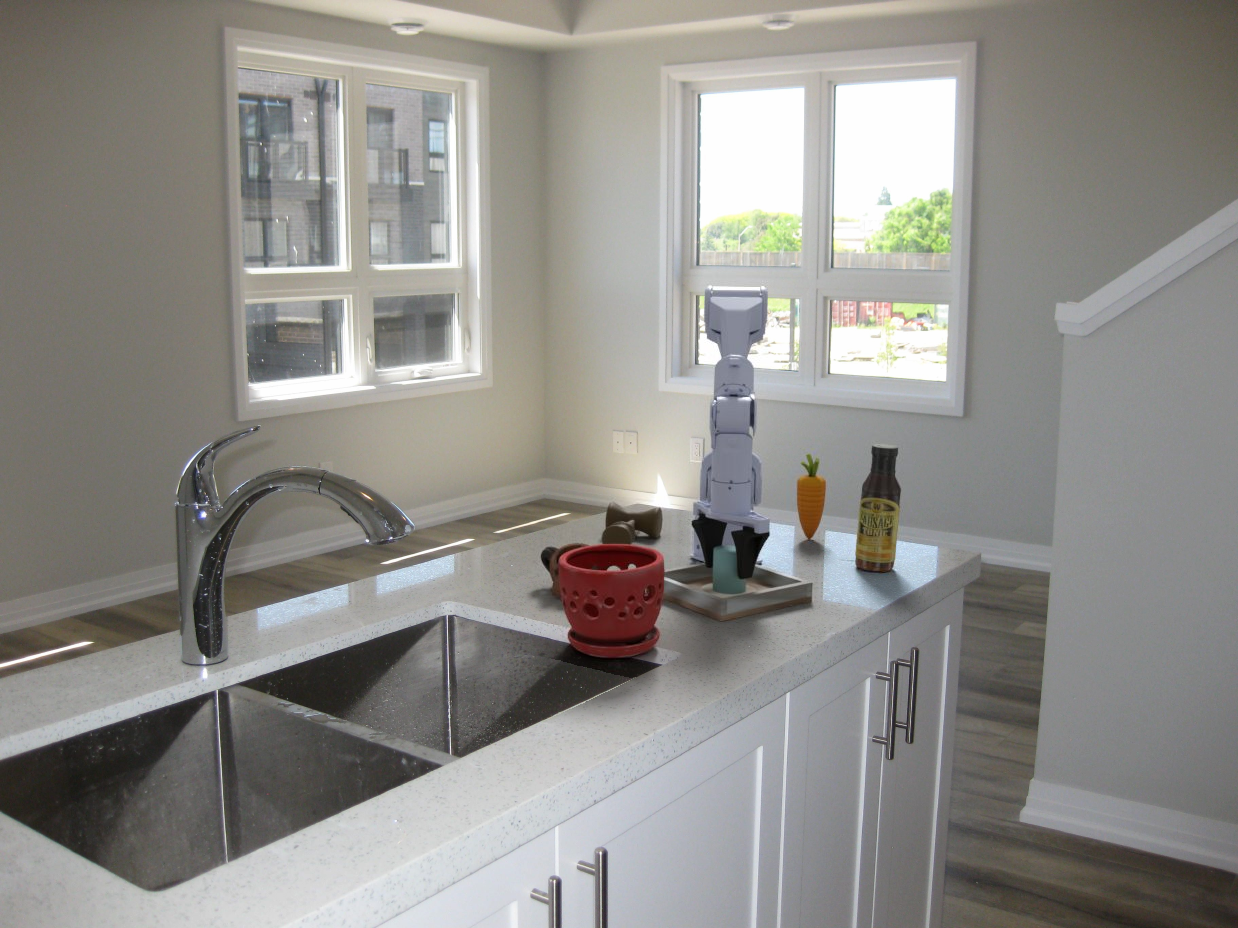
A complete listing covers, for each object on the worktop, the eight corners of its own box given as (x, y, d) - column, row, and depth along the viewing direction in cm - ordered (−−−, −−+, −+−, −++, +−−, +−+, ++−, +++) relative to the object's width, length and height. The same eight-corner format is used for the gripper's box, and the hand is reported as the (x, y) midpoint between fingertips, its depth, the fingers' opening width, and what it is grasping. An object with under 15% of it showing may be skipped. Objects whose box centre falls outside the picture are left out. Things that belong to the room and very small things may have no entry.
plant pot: (584, 626, 153) (584, 538, 151) (677, 639, 148) (679, 548, 146) (540, 656, 141) (540, 561, 139) (640, 671, 136) (641, 573, 134)
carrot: (823, 543, 199) (826, 458, 197) (794, 541, 200) (797, 456, 198) (823, 536, 204) (827, 453, 202) (795, 535, 205) (798, 452, 203)
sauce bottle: (851, 570, 182) (857, 446, 178) (858, 561, 187) (864, 441, 184) (893, 575, 179) (900, 449, 176) (899, 565, 185) (906, 443, 182)
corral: (646, 591, 169) (646, 573, 169) (733, 574, 179) (734, 557, 178) (721, 621, 155) (721, 601, 155) (811, 601, 165) (812, 582, 165)
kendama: (586, 555, 192) (616, 526, 211) (643, 561, 190) (667, 530, 209) (587, 520, 191) (617, 494, 210) (644, 526, 189) (668, 498, 208)
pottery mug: (623, 591, 171) (620, 551, 166) (584, 631, 166) (579, 591, 160) (560, 559, 177) (555, 520, 172) (520, 597, 171) (514, 558, 166)
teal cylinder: (705, 587, 168) (706, 547, 167) (731, 583, 170) (732, 543, 169) (726, 595, 164) (728, 555, 163) (752, 590, 166) (753, 550, 165)
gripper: (677, 474, 168) (675, 565, 170) (743, 491, 156) (740, 588, 158) (714, 470, 172) (712, 558, 174) (782, 485, 160) (778, 580, 162)
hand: (728, 572), depth 166 cm, fingers open, 7 cm apart
